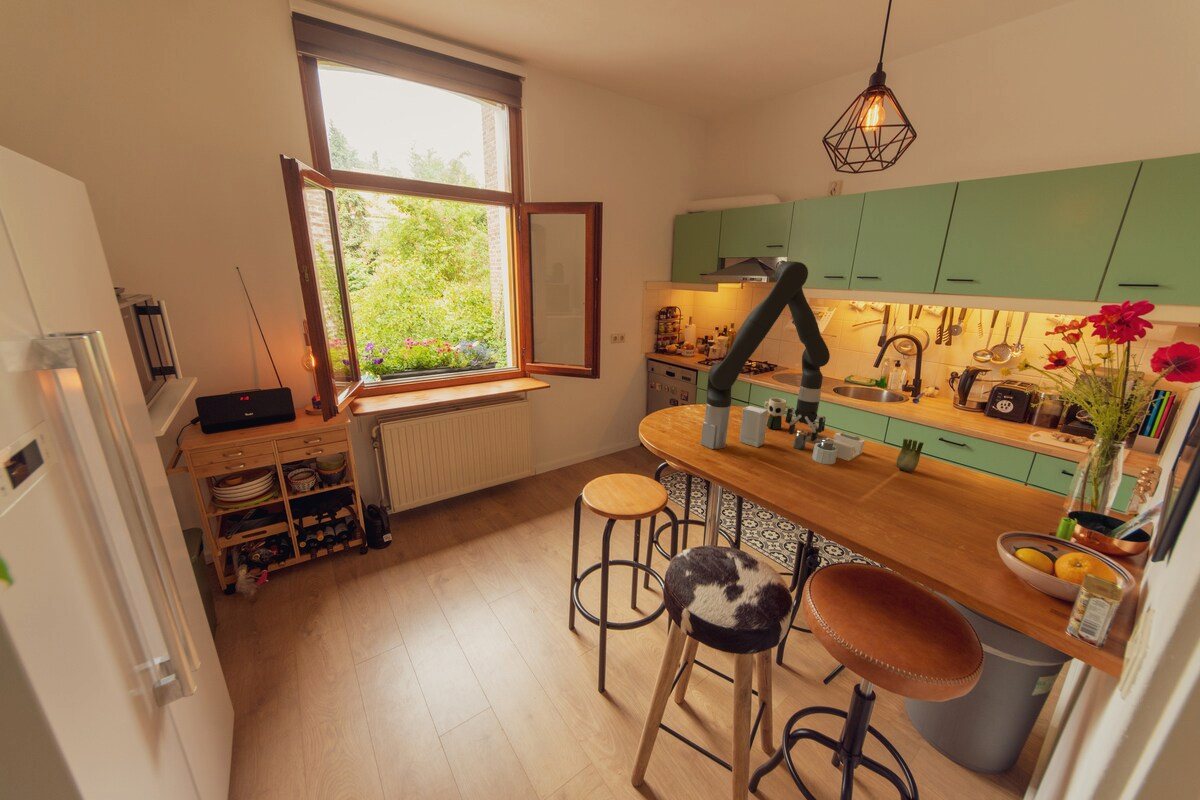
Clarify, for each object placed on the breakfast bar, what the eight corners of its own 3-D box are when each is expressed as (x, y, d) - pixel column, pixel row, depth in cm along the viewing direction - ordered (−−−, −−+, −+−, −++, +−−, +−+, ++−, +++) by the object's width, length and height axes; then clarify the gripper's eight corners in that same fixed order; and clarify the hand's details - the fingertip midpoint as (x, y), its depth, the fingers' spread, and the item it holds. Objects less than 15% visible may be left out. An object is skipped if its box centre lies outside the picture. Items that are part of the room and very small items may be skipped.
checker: (848, 462, 160) (852, 445, 157) (821, 453, 167) (824, 436, 165) (861, 454, 167) (865, 438, 165) (835, 446, 174) (838, 430, 172)
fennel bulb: (916, 472, 154) (925, 441, 150) (910, 475, 152) (918, 443, 148) (899, 465, 159) (907, 435, 155) (892, 468, 156) (900, 438, 153)
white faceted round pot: (828, 468, 155) (832, 453, 153) (808, 460, 160) (811, 446, 159) (838, 462, 159) (841, 448, 157) (817, 455, 165) (820, 441, 163)
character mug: (758, 426, 193) (762, 399, 189) (764, 422, 198) (768, 395, 194) (783, 433, 186) (788, 404, 182) (788, 428, 192) (793, 401, 188)
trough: (824, 449, 171) (826, 443, 170) (795, 439, 180) (796, 433, 179) (833, 444, 175) (834, 439, 175) (804, 435, 184) (805, 430, 184)
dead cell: (826, 463, 157) (831, 441, 154) (815, 459, 160) (819, 438, 157) (831, 460, 159) (835, 439, 157) (820, 456, 162) (824, 435, 160)
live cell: (801, 452, 167) (804, 432, 164) (791, 449, 170) (794, 429, 167) (806, 450, 170) (809, 430, 167) (796, 446, 172) (800, 427, 170)
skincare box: (764, 444, 174) (769, 409, 169) (757, 448, 170) (762, 413, 165) (745, 438, 180) (749, 404, 175) (737, 441, 176) (742, 407, 171)
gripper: (785, 395, 166) (780, 434, 171) (822, 404, 156) (815, 445, 161) (795, 392, 171) (789, 429, 176) (832, 400, 160) (824, 440, 165)
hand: (802, 437), depth 168 cm, fingers open, 8 cm apart
